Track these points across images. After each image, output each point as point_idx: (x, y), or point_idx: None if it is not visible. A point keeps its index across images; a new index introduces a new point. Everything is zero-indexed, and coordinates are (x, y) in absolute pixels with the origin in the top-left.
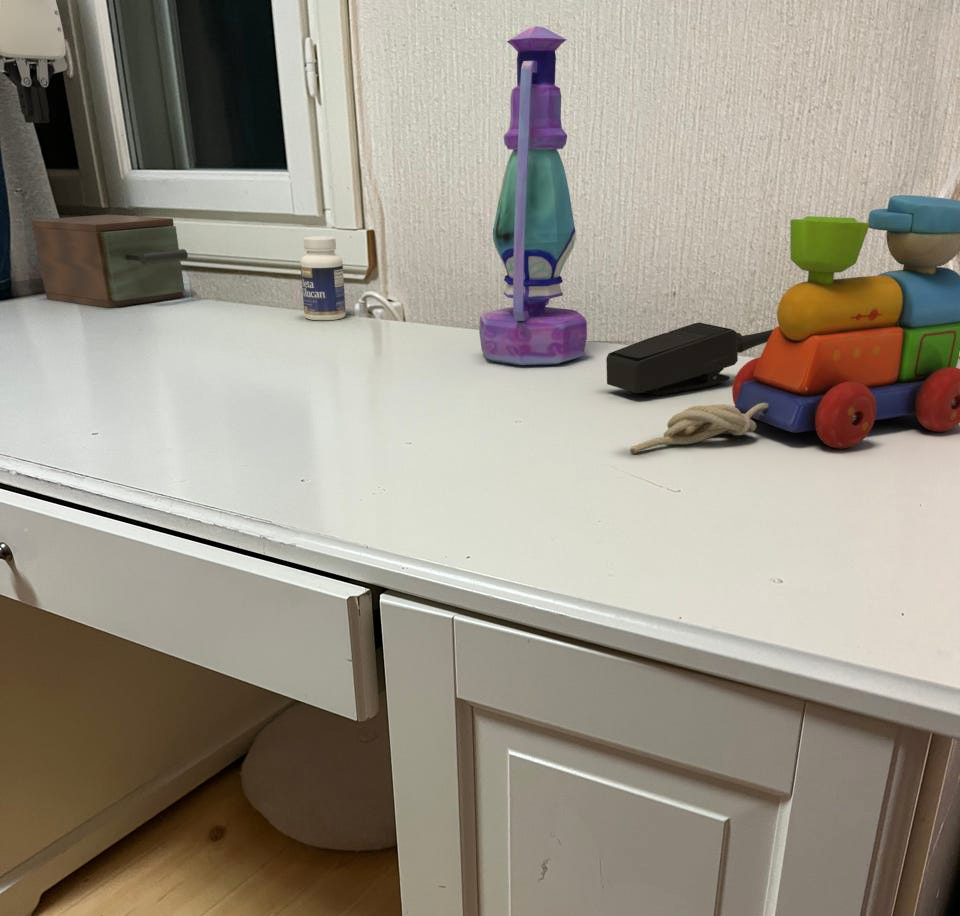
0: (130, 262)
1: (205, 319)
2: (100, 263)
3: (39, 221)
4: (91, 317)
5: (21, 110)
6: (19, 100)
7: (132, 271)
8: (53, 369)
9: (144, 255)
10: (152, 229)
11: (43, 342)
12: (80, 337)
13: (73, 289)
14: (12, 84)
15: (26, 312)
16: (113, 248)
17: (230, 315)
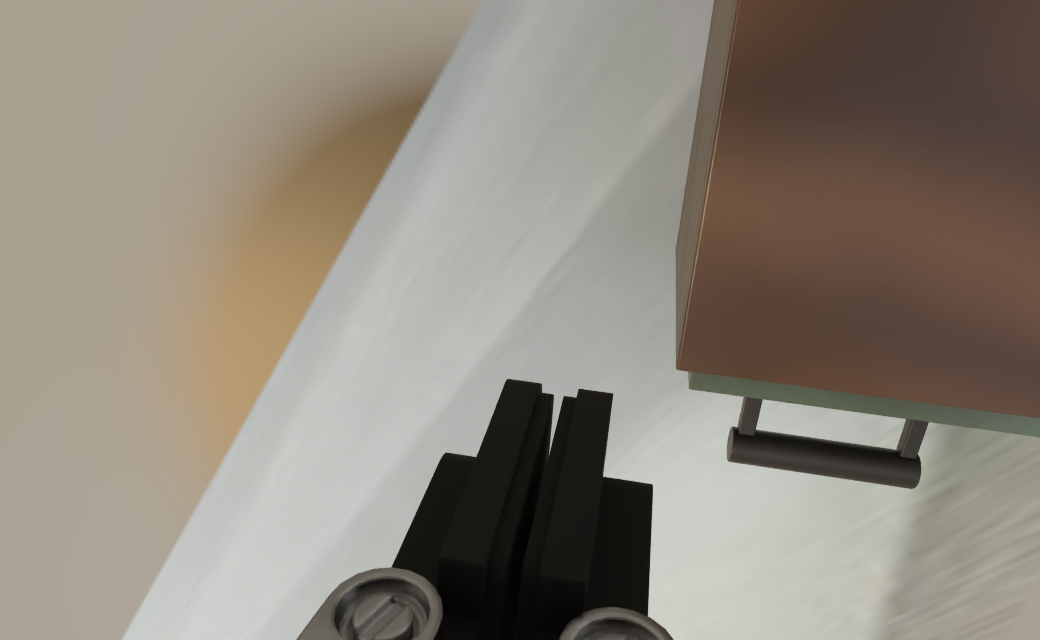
0: None
1: (656, 571)
2: (676, 301)
3: None
4: (537, 328)
5: (441, 463)
6: (417, 515)
7: None
8: (198, 629)
9: (730, 460)
10: (923, 418)
11: (289, 471)
12: (362, 493)
13: (706, 69)
14: (345, 586)
15: (492, 83)
16: None
17: (729, 586)
